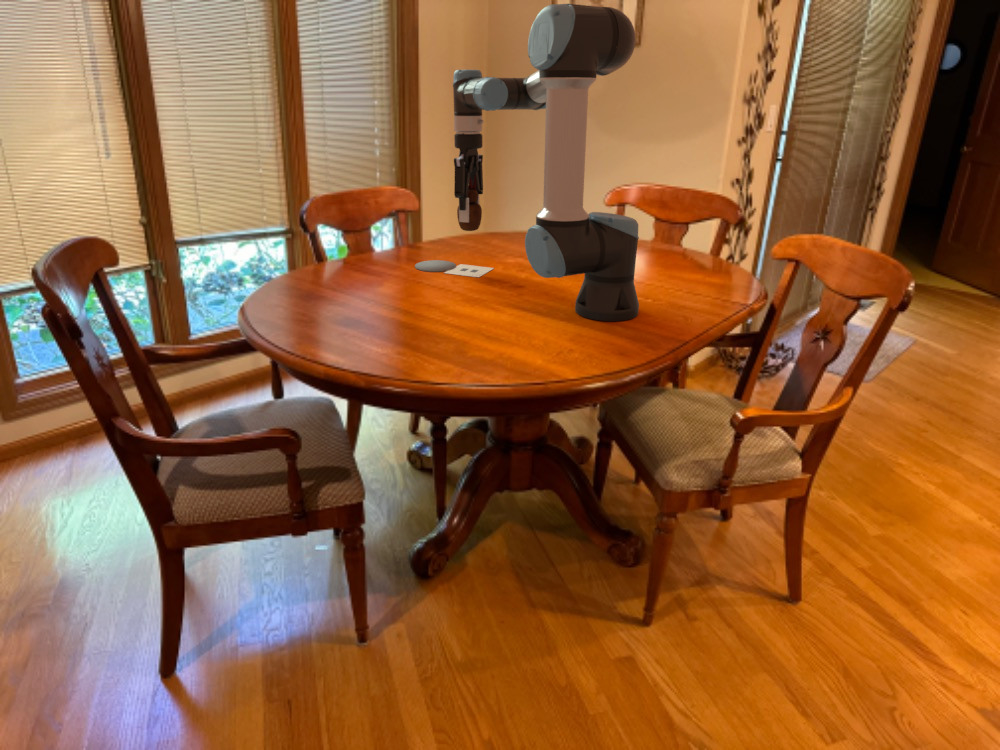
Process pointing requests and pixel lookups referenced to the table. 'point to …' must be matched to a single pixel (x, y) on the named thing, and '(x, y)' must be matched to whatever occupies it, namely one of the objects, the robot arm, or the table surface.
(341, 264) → the table surface
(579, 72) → the robot arm
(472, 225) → the wooden figurine
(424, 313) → the table surface
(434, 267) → the coaster
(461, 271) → the white card
